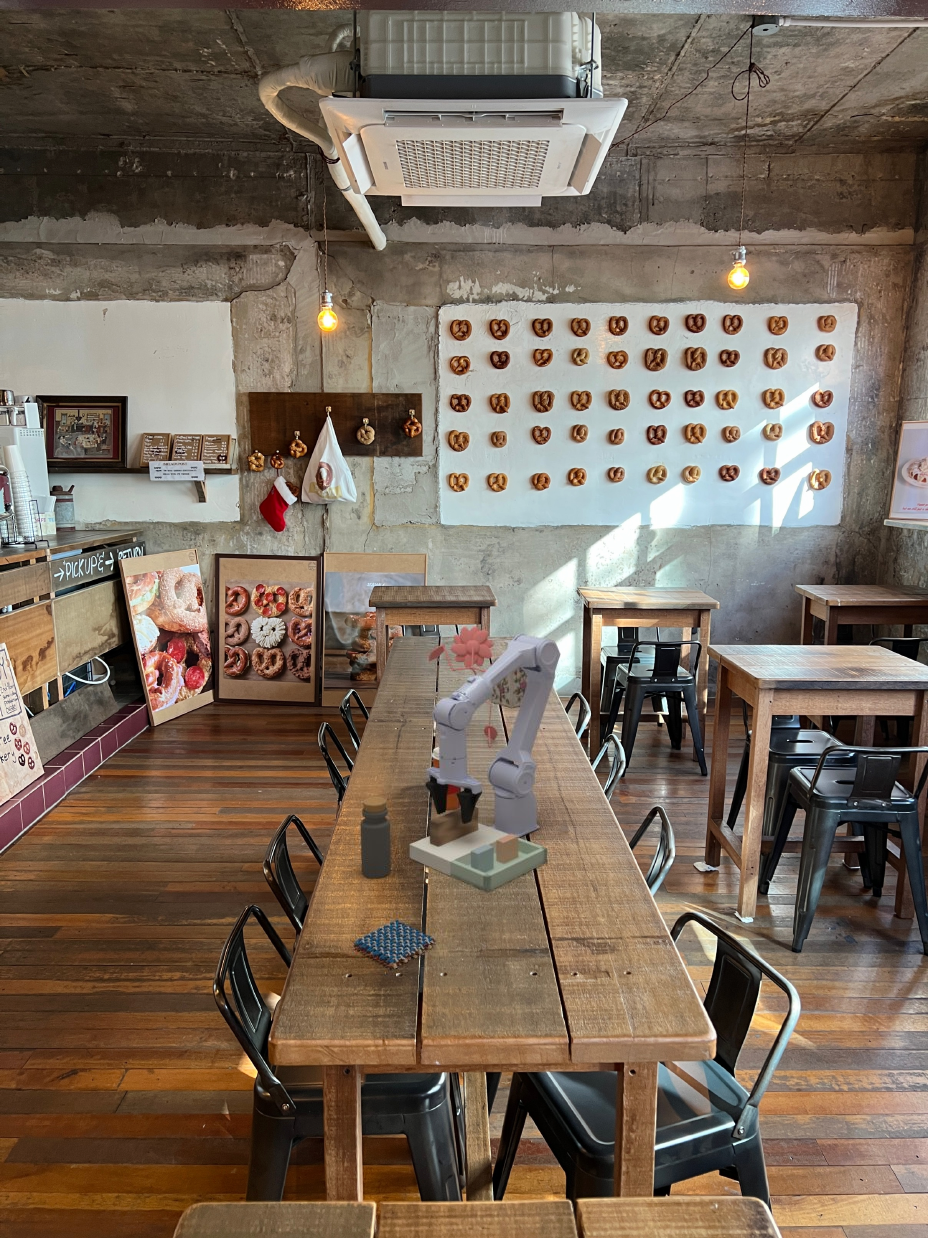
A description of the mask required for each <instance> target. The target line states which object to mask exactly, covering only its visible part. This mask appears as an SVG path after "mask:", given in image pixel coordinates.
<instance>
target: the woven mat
mask: <svg viewBox="0 0 928 1238" xmlns="http://www.w3.org/2000/svg"><path fill="white" fill-rule="evenodd" d="M418 930H419V929H417V928H412V926H411V925H409V926H408V925H407V924H405V922H401V921H399V919H395V920H394V921H390V922H389V923H387V924H386V925H382V926H380V927H379V928H377V929H376V930H374V931H370V933H368V934H367V935H364V936H362V937H359V938H358V939H357V940H356V941H355V942H354V943H353V948H355V949H356V951H358V952H362V953H364V954H366V955H367V956H368V957H370V958H372V959H374V960H376V961H378V962H379V963H381V964H384V965H386V966H387V967H388V968H389V969H391V970H395V969H396V968H398V966H401V965H402V963H404V964H407V963H408V961H410V960H412V958H414V959H416V958H418V957H419V956H421V955H422V954H423V953H425V952H426V950H431V949H432V948H433V947H436V945H435V943H436V940H435V938H434V937H431V935H430V934H428V935H427V934H425V932H423V931H418ZM418 955H419V956H418ZM411 957H412V958H411Z"/></svg>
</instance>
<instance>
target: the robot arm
mask: <svg viewBox="0 0 928 1238" xmlns="http://www.w3.org/2000/svg"><path fill="white" fill-rule="evenodd" d="M498 657H499V658H498ZM498 657H497V658H498V659H497V658H496V659H497V660H496V659H495V660H496V661H495V660H494V661H495V662H494V661H493V662H494V663H493V662H492V663H493V664H492V663H491V664H492V665H491V664H490V665H491V667H490V666H489V668H488V669H487V670H486V672H483V674H481V675H478V674H476V675H475V674H474V675H472V676H471V675H470V676H469V677H467V679H466V682H465V683H463V685H461V687H459V688H458V689H457V690H456V691H453V692H452V693H451V695H450V696H449V697H443V698H442V699H440V700H439V701H438V702H437V703H436V704H435V706H434V709H433V711H432V712H431V713H432V714H431V715H432V719H433V721H434V722H435V723H436V727H437V729H436V730H437V731H438V747H439V768H434V766H432V767H428V768H427V769H426V773H425V775H426V777H425V778H427V779H429V780H428V781H425V787H426V789H427V790H428V792H429V794H430V796H431V799H432V801H433V805H434V807H435V812H436V814H437V815H441V814H444V813H446V812H447V810H446V808H447V792H448V787H449V784H451V785H454V786H457V787H460V788H461V789H463V790H461V792H458V793H457V797H458V799H459V803H460V806H459V808H460V809H461V819H462V823H463V824H467V823H469V822H471V821H472V816H473V812H474V809H475V807H477V806H476V805H477V803H478V801H479V799H480V797H481V795H482V794H483V787H482V782H481V781H478V780H477V779H475V778H474V777H472V776H471V775H469V774H468V770H467V769H468V767H467V766H468V765H467V763H468V762H467V761H468V759H467V756H468V755H467V734H466V733H467V727H468V726H469V725H470V724H471V722H472V720H473V716H474V715H475V713H476V711H477V710H478V709H479V708H480V707H482V705H483V704H484V703H486V702H485V701H487V702H488V700H489V698H490V697H491V696H492V692H493V687H494V686H495V685H496V684H498V683H499V682H500V681H502V680H503V679H504V678H505V677H507V676H508V675H509V674H510V673H512V672H513V671H514V670H515V669H517V668H518V667H521V668H522V669H523V670H524V671H525V673H526V675H527V677H528V684H527V687H526V690H525V693H524V696H523V699H522V702H521V705H520V706H519V708H518V712H517V714H516V718H515V720H514V724H513V728H512V730H511V733H510V735H509V736H510V737H509V738H508V742H507V745H506V747H503V748H502V749H500V750H499V751H497V752H496V755H495V758H494V759H493V761H492V762H491V763H490V765H489V767H488V769H487V775H486V776H487V781H488V783H490V785H492V790H493V792H494V824H493V825H491V826H490V827H491V828H493V829H496V830H499V831H502V832H504V833H507V834H514V835H516V836H518V838H520V837H523V836H525V835H528V834H529V833H531V832H534V831H536V830H538V829H540V828H541V826H540V825H538V819H537V818H538V803H537V799H538V798H537V797H536V794H535V792H534V791H533V788H534V785H535V783H536V782H535V781H536V779H535V773H536V769H537V763H536V762H535V760H534V758H533V757H532V751H533V747H534V745H535V741H536V738H537V735H538V731H539V729H540V725H541V722H542V720H543V717H544V714H545V710H546V707H547V704H548V701H549V698H550V695H551V691H552V689H553V686H554V683H555V678H556V669H557V666H558V664H559V660H560V657H561V652H560V650H559V647H558V644H557V643H556V642H555V641H554V640H553V639H551V638H543V637H538V636H532V635H528V634H525V633H519V634H517V635H515V636H514V637H513V638H512V640H510V641H509V642H508V643H507V646H506V650H505V651H504V652H503V653H502V654H501V655H500V656H498ZM513 762H514V763H513Z"/></svg>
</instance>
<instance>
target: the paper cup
mask: <svg viewBox="0 0 928 1238" xmlns="http://www.w3.org/2000/svg"><path fill="white" fill-rule="evenodd" d="M431 757H432V761H433V762H432V763H433V767H434V768H439V746H437V747H435V748H434V749H433V750H432V753H431ZM461 791H462V788H460V787H457V786H454V785H451V784H449V787H448V792H447V808H446V811H453V810H458V808H459V809H460V803H459V799H458V797H457V793H458V792H461Z"/></svg>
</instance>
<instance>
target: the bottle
mask: <svg viewBox="0 0 928 1238" xmlns="http://www.w3.org/2000/svg"><path fill="white" fill-rule="evenodd" d="M362 805H363V808H362V810H361V815H362V817H363V819H362V820H361V821H360V857H361V874H362V876H364V877H365V878H368V879H380V878H385V877H387V876H389V875H390V874H391V872H392V859H391V858H392V855H391V853H392V852H391V821H390V820H389V818H387V817H386V816H387V815H388V814H389V813H388V812H389V810H388V807H386V806H387V799H386V798H385V797H381V796H370V797H367V798H364V799H363V801H362Z"/></svg>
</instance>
